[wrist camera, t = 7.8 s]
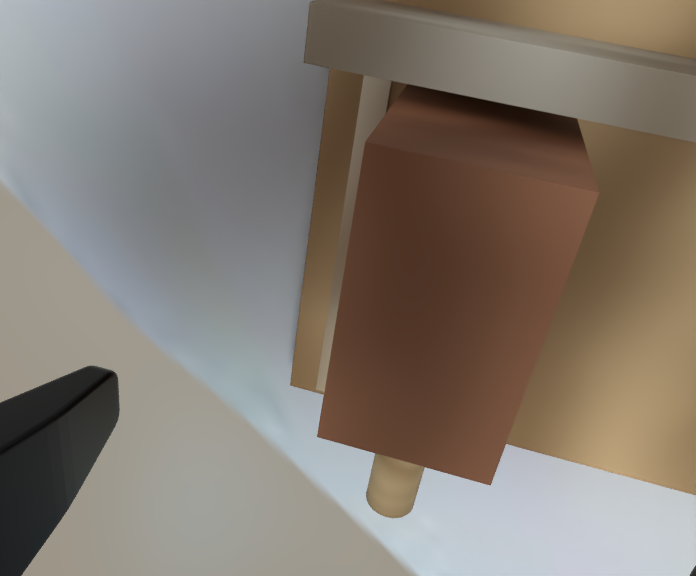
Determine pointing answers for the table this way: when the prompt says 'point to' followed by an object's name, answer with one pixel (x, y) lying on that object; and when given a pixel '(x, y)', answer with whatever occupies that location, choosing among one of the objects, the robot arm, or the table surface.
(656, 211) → the board
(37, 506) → the robot arm
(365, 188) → the brown block with peg
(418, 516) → the table surface
